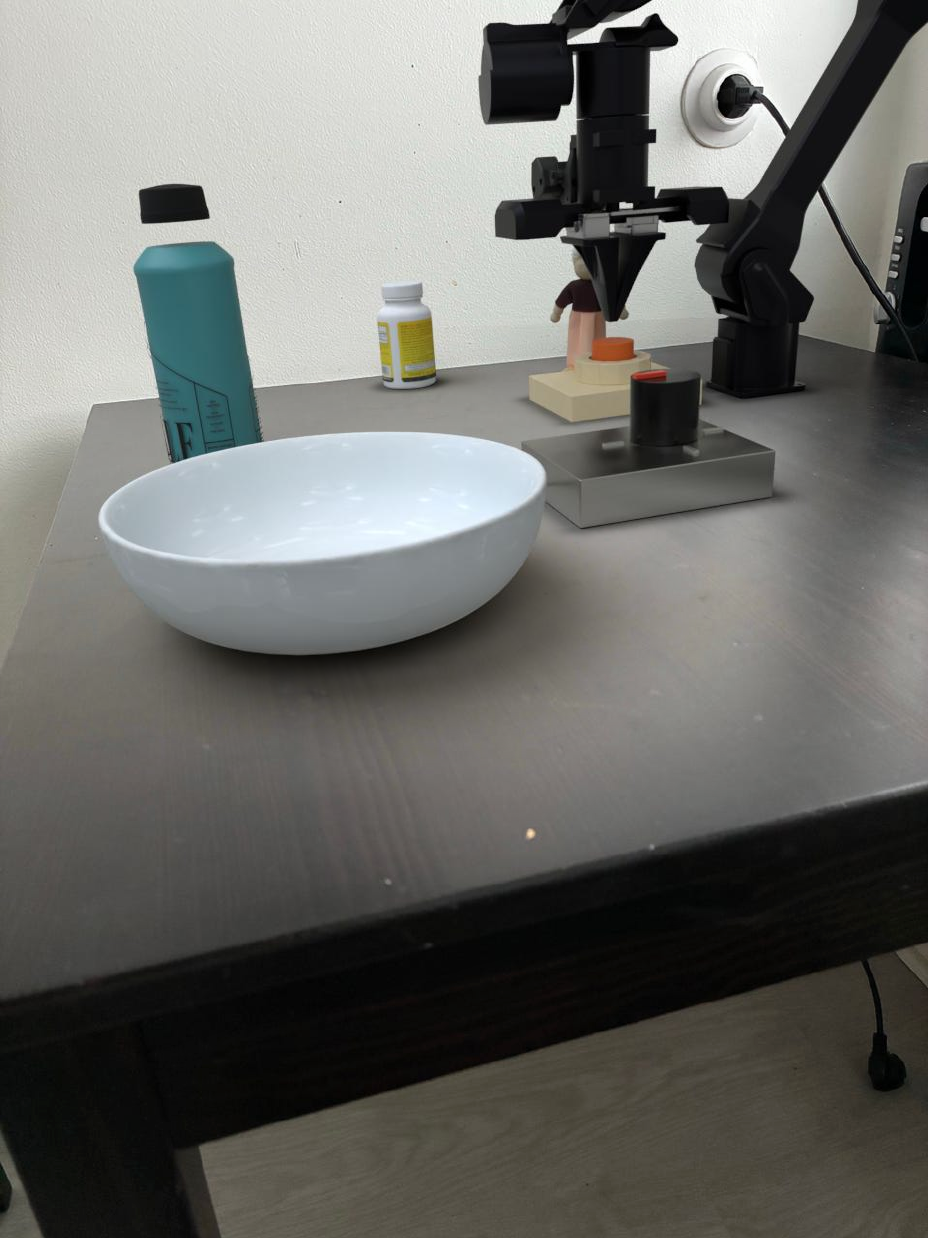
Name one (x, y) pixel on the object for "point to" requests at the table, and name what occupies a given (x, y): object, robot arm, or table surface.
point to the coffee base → (590, 387)
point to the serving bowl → (326, 538)
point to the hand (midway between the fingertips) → (611, 321)
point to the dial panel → (649, 473)
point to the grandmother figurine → (581, 312)
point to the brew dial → (664, 406)
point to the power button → (613, 349)
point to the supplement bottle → (406, 337)
